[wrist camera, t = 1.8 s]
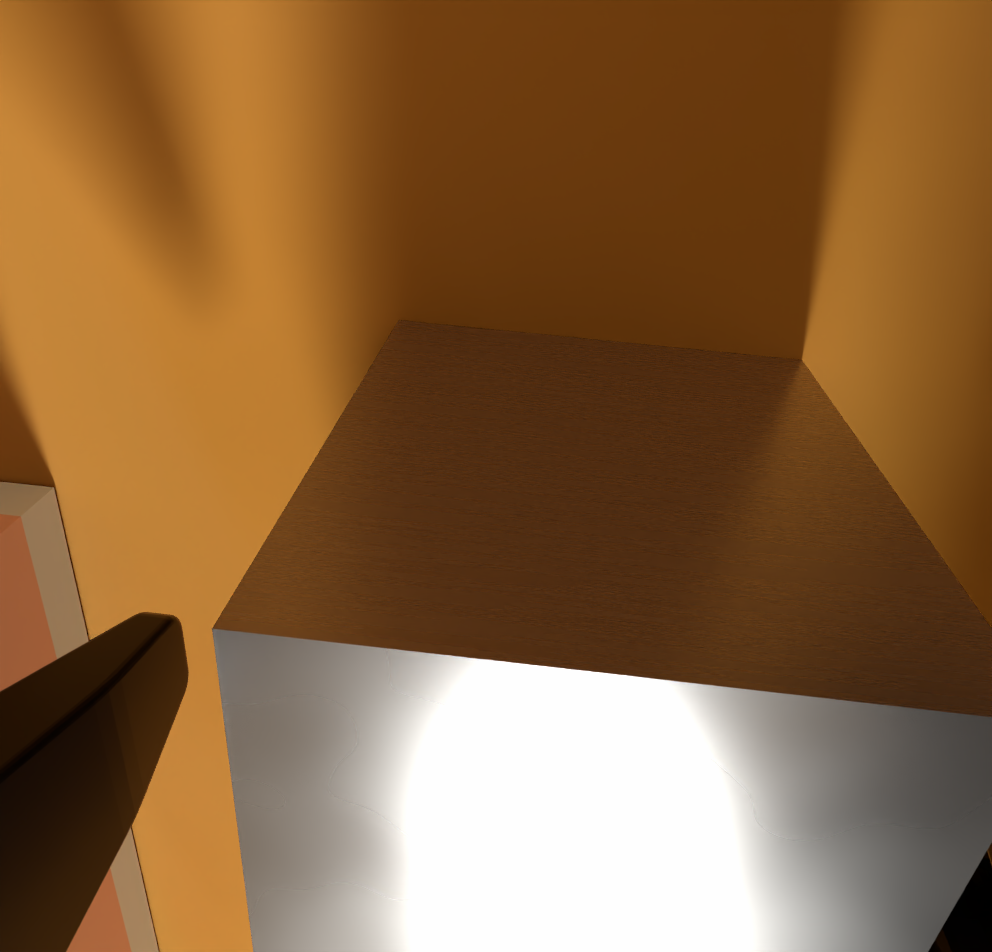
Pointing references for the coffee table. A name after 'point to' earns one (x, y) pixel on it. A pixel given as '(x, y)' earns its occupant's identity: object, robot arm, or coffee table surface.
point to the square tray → (34, 644)
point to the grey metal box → (600, 668)
